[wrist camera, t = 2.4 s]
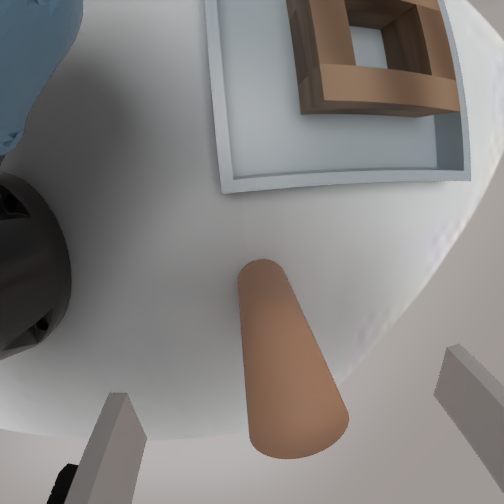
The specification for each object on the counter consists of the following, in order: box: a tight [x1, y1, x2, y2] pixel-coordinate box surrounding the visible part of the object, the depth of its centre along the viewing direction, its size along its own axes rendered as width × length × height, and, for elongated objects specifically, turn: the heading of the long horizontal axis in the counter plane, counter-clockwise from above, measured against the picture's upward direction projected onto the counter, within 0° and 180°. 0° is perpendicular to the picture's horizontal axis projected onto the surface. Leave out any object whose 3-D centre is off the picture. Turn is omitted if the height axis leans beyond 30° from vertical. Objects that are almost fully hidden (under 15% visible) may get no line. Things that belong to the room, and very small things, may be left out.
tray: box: [204, 0, 471, 194], centre depth 17 cm, size 17×17×4 cm
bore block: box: [286, 0, 461, 118], centre depth 15 cm, size 9×9×5 cm
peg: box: [238, 259, 349, 459], centre depth 16 cm, size 4×4×14 cm
